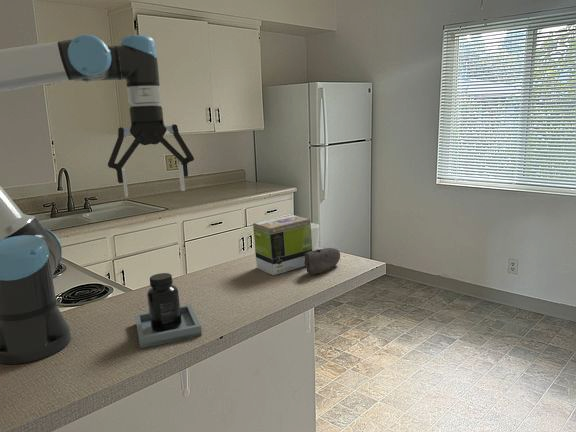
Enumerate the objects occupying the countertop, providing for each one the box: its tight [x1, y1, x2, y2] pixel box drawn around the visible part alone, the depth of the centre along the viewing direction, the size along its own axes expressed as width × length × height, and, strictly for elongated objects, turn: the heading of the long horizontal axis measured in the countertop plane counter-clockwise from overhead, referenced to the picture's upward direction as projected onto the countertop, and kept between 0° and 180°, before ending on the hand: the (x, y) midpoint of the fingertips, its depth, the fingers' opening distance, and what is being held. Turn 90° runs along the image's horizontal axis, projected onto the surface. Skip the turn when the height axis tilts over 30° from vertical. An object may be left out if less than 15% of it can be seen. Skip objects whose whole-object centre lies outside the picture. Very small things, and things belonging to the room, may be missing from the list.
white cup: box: [310, 222, 320, 251], centre depth 155 cm, size 8×8×10 cm
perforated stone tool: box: [304, 247, 341, 276], centre depth 141 cm, size 15×5×7 cm, turn 132°
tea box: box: [252, 214, 312, 276], centre depth 145 cm, size 15×10×15 cm
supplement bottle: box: [146, 272, 182, 332], centre depth 106 cm, size 7×7×12 cm
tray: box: [134, 304, 203, 349], centre depth 107 cm, size 13×13×2 cm
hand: (155, 193), depth 117 cm, fingers open, 13 cm apart
